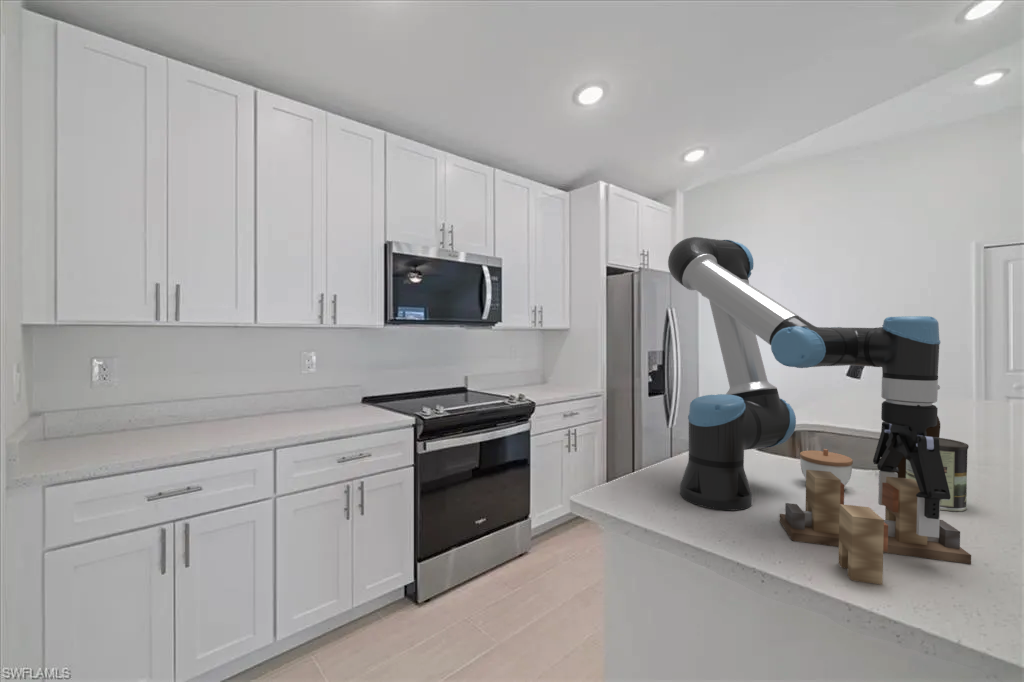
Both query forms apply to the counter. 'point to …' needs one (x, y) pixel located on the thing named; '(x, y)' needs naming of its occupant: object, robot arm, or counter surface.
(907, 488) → the right finger
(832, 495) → the block
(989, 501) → the counter surface
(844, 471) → the lidded jar
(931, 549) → the rail board
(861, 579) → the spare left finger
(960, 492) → the coffee can
